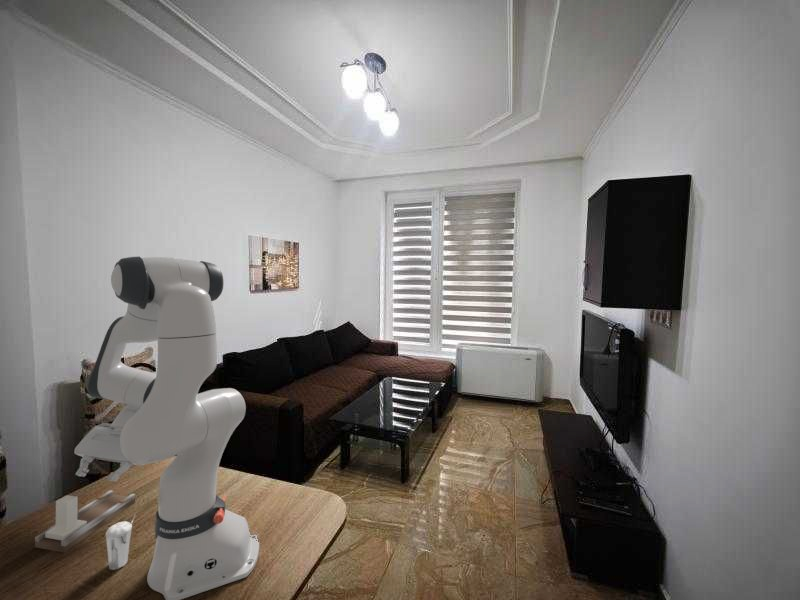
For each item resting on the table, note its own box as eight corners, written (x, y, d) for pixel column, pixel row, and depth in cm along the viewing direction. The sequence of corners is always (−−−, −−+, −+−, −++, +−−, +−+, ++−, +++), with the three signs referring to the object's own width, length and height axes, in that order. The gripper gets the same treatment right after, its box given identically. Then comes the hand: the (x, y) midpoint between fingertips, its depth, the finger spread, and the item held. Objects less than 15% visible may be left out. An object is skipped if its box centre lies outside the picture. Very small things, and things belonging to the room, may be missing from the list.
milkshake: (139, 559, 77) (139, 518, 76) (109, 576, 72) (110, 532, 72) (130, 550, 79) (131, 509, 79) (101, 565, 75) (102, 522, 74)
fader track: (110, 498, 96) (110, 489, 96) (135, 502, 95) (135, 493, 95) (34, 547, 79) (35, 536, 78) (64, 552, 78) (64, 541, 77)
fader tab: (68, 522, 84) (68, 491, 84) (86, 525, 84) (87, 494, 83) (45, 537, 79) (45, 504, 79) (64, 540, 79) (64, 507, 78)
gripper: (91, 417, 96) (51, 469, 87) (155, 426, 93) (121, 480, 84) (106, 426, 100) (70, 476, 91) (168, 434, 98) (137, 486, 89)
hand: (95, 478), depth 88 cm, fingers open, 8 cm apart
